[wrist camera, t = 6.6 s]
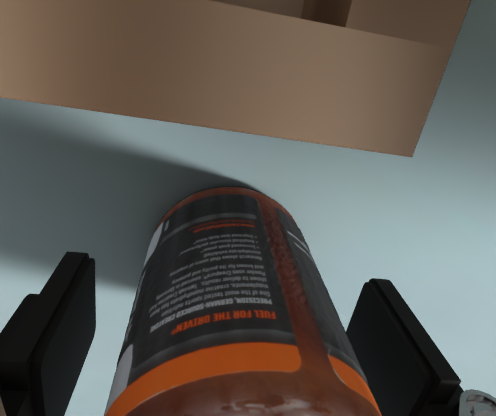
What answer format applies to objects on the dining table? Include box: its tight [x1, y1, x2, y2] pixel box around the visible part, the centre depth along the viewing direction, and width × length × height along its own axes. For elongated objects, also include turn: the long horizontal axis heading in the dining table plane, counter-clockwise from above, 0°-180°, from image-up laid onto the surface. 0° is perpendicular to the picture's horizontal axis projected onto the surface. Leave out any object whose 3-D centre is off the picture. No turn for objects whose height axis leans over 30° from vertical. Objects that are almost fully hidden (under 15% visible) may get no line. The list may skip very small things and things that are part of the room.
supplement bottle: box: [104, 187, 382, 416], centre depth 10 cm, size 6×6×11 cm
